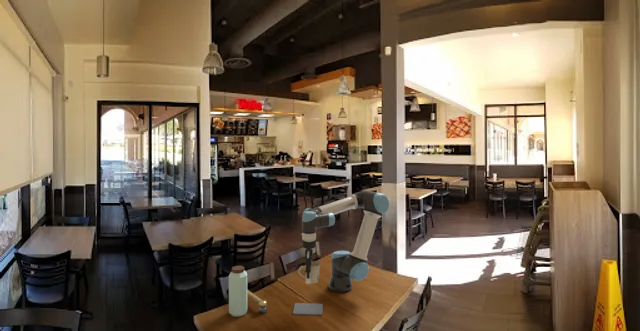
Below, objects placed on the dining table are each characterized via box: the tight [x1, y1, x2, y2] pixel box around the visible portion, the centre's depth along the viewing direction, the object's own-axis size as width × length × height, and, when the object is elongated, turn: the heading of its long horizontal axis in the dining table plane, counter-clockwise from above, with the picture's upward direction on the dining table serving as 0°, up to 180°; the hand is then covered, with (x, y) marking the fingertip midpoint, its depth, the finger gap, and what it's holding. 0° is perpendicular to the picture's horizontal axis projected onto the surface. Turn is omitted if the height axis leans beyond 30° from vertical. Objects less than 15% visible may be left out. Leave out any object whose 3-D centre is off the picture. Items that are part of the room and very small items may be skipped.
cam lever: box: [247, 289, 268, 308], centre depth 197 cm, size 4×26×3 cm, turn 40°
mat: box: [292, 302, 324, 316], centre depth 193 cm, size 16×12×1 cm
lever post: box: [258, 306, 268, 315], centre depth 189 cm, size 4×4×3 cm
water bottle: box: [228, 265, 248, 318], centre depth 187 cm, size 10×10×25 cm
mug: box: [297, 260, 321, 285], centre depth 191 cm, size 8×13×10 cm, turn 78°
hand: (308, 281), depth 191 cm, fingers closed on mug, 6 cm apart
